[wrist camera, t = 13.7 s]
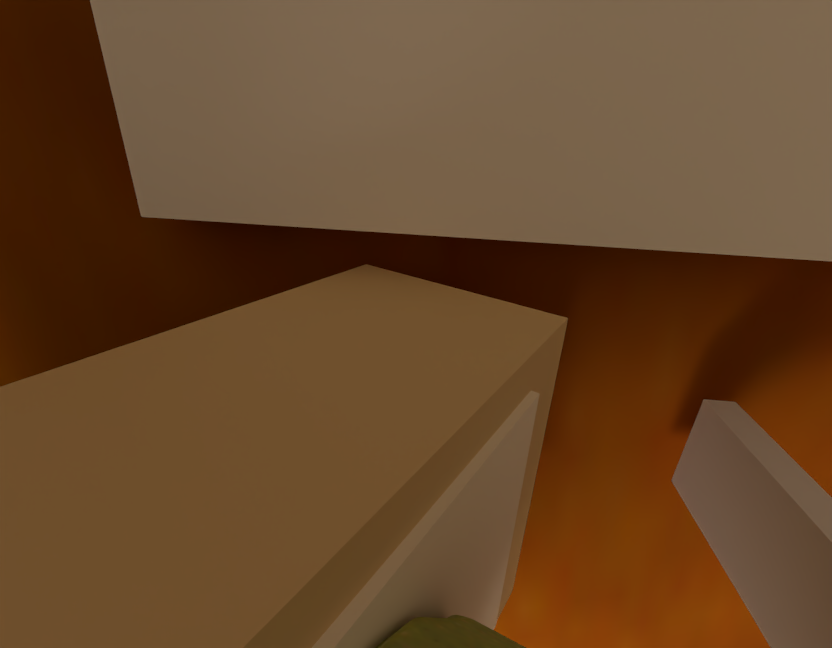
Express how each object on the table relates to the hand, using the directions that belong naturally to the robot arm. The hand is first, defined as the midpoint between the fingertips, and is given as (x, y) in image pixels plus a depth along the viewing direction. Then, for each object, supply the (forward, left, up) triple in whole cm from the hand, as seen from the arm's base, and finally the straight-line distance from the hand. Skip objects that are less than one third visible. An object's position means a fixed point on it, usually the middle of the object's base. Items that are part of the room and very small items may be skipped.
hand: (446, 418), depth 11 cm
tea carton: (0, 0, +1) cm, 1 cm away
